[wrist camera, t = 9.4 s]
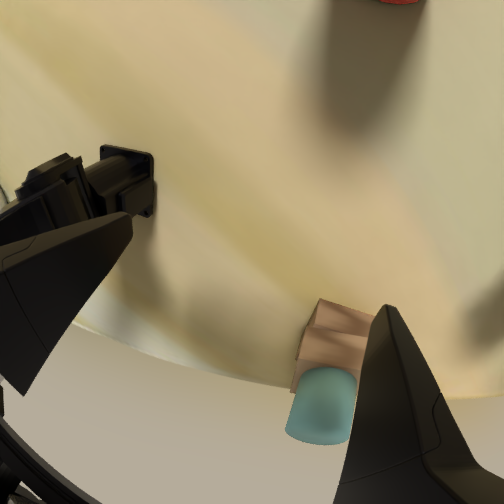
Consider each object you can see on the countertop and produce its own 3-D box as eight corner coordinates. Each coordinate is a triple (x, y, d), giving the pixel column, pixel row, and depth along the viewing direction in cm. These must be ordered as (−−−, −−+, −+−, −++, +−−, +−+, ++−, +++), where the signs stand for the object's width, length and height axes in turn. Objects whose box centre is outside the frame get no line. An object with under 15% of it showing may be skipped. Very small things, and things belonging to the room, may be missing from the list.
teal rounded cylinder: (293, 387, 24) (278, 434, 20) (310, 360, 21) (295, 416, 17) (342, 401, 23) (333, 448, 19) (367, 376, 20) (360, 431, 16)
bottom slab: (302, 334, 30) (295, 359, 27) (320, 296, 26) (314, 323, 23) (352, 349, 29) (349, 375, 26) (377, 315, 25) (377, 342, 22)
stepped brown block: (298, 363, 27) (289, 392, 24) (306, 326, 24) (298, 358, 21) (354, 374, 26) (350, 404, 23) (373, 338, 22) (371, 371, 19)
